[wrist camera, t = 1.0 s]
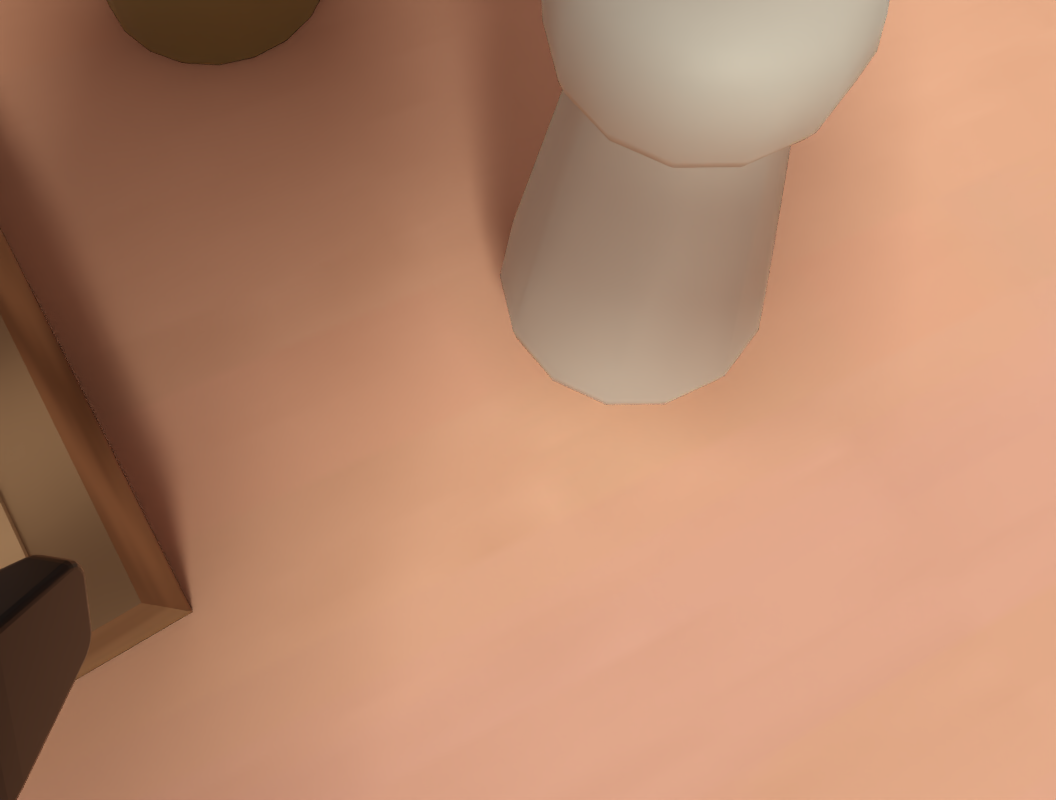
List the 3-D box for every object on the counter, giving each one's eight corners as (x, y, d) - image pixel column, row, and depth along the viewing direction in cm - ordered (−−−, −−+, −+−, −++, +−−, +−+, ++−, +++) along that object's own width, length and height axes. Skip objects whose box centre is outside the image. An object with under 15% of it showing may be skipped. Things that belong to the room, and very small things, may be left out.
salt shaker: (672, 171, 25) (829, -344, 12) (786, 365, 23) (1095, 11, 11) (463, 264, 24) (398, -181, 11) (567, 471, 23) (625, 224, 10)
